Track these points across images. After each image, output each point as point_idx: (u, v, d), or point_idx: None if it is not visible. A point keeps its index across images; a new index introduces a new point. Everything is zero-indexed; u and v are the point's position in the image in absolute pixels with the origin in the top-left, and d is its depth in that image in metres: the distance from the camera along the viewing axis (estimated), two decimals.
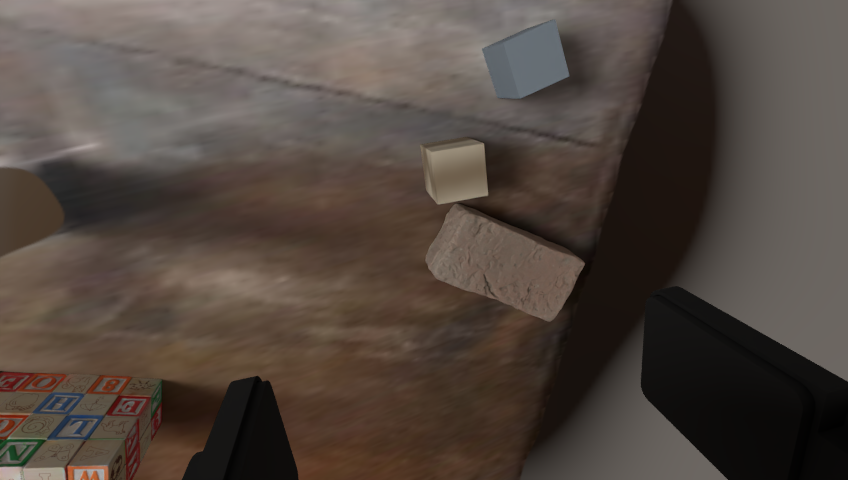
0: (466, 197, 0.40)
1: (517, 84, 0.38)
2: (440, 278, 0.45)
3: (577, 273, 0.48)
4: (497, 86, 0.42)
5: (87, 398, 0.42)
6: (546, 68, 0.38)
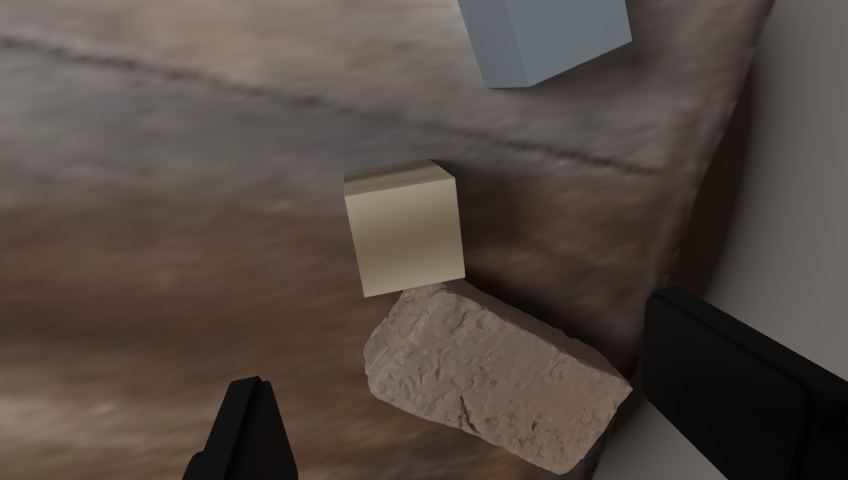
0: (422, 282, 0.20)
1: (524, 56, 0.18)
2: (382, 398, 0.25)
3: (617, 403, 0.28)
4: (485, 66, 0.22)
5: None
6: (585, 24, 0.18)
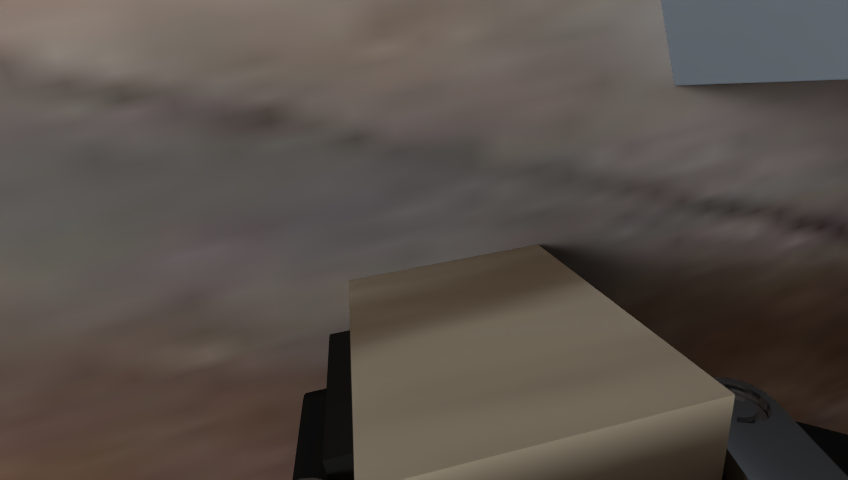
0: None
1: None
2: None
3: None
4: (701, 29, 0.09)
5: None
6: None
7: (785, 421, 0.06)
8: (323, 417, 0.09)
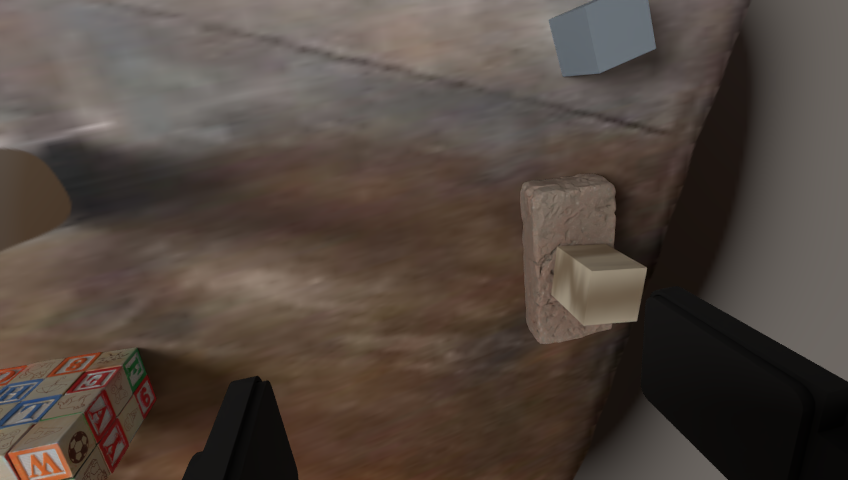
0: (614, 321, 0.36)
1: (597, 56, 0.33)
2: (537, 203, 0.38)
3: (598, 329, 0.44)
4: (565, 62, 0.37)
5: (46, 382, 0.35)
6: (630, 39, 0.33)
7: None
8: None
